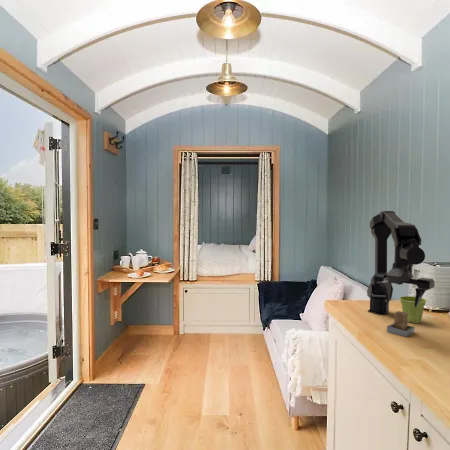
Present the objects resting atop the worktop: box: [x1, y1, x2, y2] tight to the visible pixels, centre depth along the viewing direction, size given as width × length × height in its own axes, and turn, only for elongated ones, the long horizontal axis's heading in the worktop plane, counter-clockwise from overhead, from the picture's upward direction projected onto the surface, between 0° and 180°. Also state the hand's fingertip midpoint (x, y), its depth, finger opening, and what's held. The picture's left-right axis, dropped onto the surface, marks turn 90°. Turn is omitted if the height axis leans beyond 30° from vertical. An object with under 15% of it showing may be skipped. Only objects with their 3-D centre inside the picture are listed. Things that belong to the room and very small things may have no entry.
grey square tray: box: [386, 322, 415, 338], centre depth 126 cm, size 7×7×2 cm
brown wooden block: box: [393, 310, 408, 330], centre depth 126 cm, size 3×3×7 cm
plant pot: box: [399, 295, 428, 324], centre depth 139 cm, size 9×9×9 cm
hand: (401, 304), depth 126 cm, fingers open, 9 cm apart
